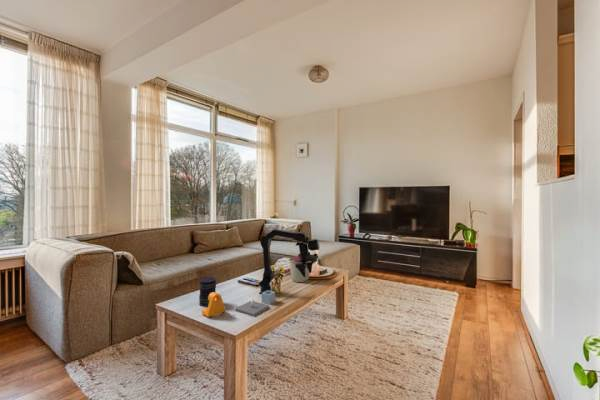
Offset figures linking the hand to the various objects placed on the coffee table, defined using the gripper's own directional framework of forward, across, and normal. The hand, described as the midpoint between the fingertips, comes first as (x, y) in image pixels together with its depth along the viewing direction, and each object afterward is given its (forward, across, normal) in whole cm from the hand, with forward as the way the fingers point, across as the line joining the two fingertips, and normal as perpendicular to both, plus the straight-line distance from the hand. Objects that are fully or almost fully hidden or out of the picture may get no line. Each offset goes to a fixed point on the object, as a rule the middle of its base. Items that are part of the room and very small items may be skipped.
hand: (307, 274), depth 185 cm
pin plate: (+10, -33, +23) cm, 41 cm away
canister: (+13, +29, +23) cm, 39 cm away
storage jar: (+5, -38, +52) cm, 65 cm away
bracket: (+7, -47, +39) cm, 62 cm away
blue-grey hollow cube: (+11, -19, +20) cm, 30 cm away
